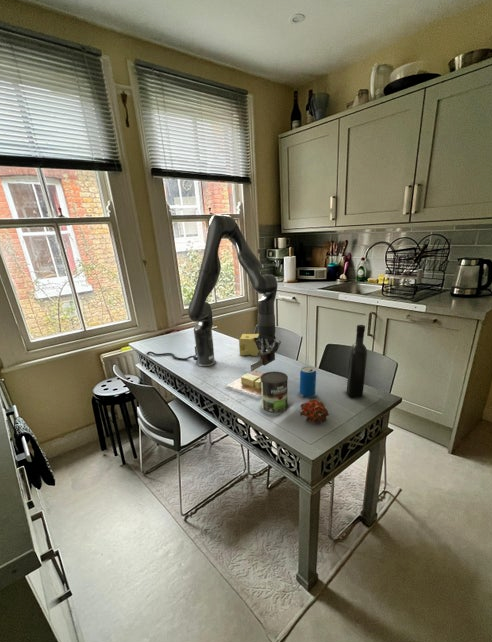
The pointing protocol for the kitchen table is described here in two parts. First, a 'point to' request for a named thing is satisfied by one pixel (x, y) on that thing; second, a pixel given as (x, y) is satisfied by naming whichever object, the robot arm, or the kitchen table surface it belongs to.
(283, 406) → the coffee can
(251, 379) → the butter
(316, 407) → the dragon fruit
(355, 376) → the wine bottle
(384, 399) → the kitchen table surface
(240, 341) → the cheese
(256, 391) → the board
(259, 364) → the knife
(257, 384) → the butter slice
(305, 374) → the beverage can
